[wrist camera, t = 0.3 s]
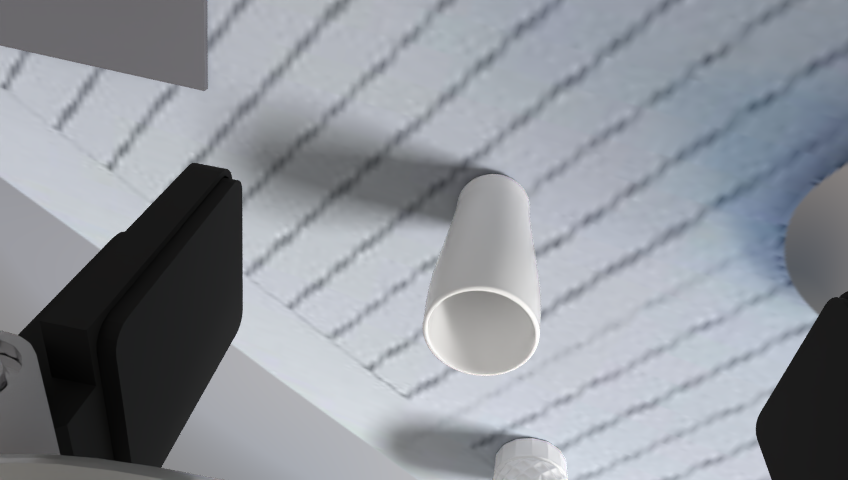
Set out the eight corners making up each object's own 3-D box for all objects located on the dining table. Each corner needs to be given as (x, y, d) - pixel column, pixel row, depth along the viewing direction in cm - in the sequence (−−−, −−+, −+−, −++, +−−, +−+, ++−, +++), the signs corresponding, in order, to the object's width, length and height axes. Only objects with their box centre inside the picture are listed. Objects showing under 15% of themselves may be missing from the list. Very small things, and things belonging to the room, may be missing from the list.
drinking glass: (435, 220, 52) (403, 352, 40) (470, 147, 49) (447, 268, 36) (515, 253, 53) (509, 393, 40) (556, 183, 49) (563, 314, 37)
